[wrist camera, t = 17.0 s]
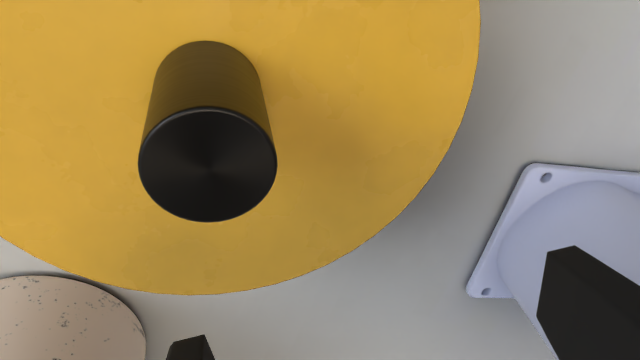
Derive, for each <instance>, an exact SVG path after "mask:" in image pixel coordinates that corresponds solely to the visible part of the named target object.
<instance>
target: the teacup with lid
mask: <svg viewBox="0 0 640 360" xmlns="http://www.w3.org/2000/svg"><path fill="white" fill-rule="evenodd" d="M145 353H146V340H145V334H144V331H143V328H142V326H141V324H140V322H139V320H138V319H137V317H136V316H135V315H134V313H133V312H132V311H131V310H130V309H129V308H128V307H127V306H126V305H125V304H124V303H122V302H121V301H120V300H118V299H117V298H116V297H114V296H113V295H111V294H109V293H107V292H105V291H104V290H101V289H99V288H97V287H95V286H92V285H89V284H86V283H83V282H80V281H76V280H71V279H67V278H60V277H53V276H18V277H10V278H5V279H0V360H145Z"/></svg>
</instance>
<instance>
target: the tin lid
mask: <svg viewBox="0 0 640 360" xmlns="http://www.w3.org/2000/svg"><path fill="white" fill-rule="evenodd" d="M480 26H481V20H480V2H479V0H0V236H1V237H2V238H3V239H5V240H7V241H8V242H10V243H12V244H14V245H15V246H17V247H19V248H20V249H22V250H24V251H26V252H27V253H29V254H31V255H32V256H34V257H36V258H39V259H41V260H43V261H45V262H47V263H49V264H52V265H54V266H56V267H58V268H60V269H63V270H65V271H68V272H70V273H73V274H76V275H79V276H82V277H85V278H88V279H91V280H94V281H97V282H101V283H105V284H109V285H113V286H117V287H121V288H125V289H131V290H137V291H144V292H151V293H158V294H175V295H210V294H223V293H231V292H239V291H247V290H251V289H256V288H260V287H265V286H269V285H274V284H277V283H280V282H283V281H287V280H290V279H293V278H296V277H299V276H302V275H304V274H307V273H309V272H311V271H314V270H316V269H318V268H321V267H323V266H325V265H327V264H329V263H331V262H333V261H335V260H337V259H338V258H340V257H342V256H344V255H346V254H348V253H349V252H351V251H353V250H354V249H356V248H357V247H359V246H360V245H361V244H363V243H364V242H366V241H367V240H369V239H370V238H372V237H373V236H375V235H376V234H377V233H378V232H379V231H381V230H382V229H383V228H384V227H385V226H386V225H388V224H389V223H390V222H391V221H392V220H394V219H395V218H396V217H397V216H398V215H399V214H400V213H401V212H402V211H403V210H404V209H405V208H406V207H407V206H408V204H409V203H410V202H411V201H412V200H413V199H414V198H415V197H416V196H417V195H418V193H419V192H420V191H421V190H422V188H423V187H424V186H425V184H426V183H427V182H428V180H429V179H430V178H431V177H432V175H433V174H434V172H435V171H436V169H437V167H438V166H439V164H440V163H441V161H442V159H443V158H444V156H445V154H446V153H447V151H448V149H449V148H450V145H451V143H452V141H453V139H454V137H455V135H456V132H457V130H458V128H459V126H460V124H461V122H462V119H463V116H464V113H465V110H466V107H467V104H468V101H469V98H470V94H471V91H472V87H473V82H474V77H475V72H476V67H477V62H478V55H479V40H480Z"/></svg>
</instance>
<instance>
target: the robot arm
mask: <svg viewBox="0 0 640 360" xmlns="http://www.w3.org/2000/svg"><path fill="white" fill-rule="evenodd" d="M545 173H546V174H545ZM543 174H545V175H544V176H543V177H542V175H543ZM466 291H467V293H468V295H469V296H470V297H473V298H515V299H516V300H517V302H518V303H519V305H520V306H521V308H522V309H523V311H524V312H525V314H526V315H527V317H528V318H529V320H530V321H531V323H532V324H533V326H534V327H535V329H536V330H537V332H538V333H539V335H540V336H541V338H542V339H543V340H544V342H545V343H546V345H547V346H548V348H549V349H550V351H551V352H552V354H553V355H554V357H555V358H556V360H640V173H635V172H625V171H615V170H604V169H594V168H583V167H573V166H563V165H552V164H542V163H533V164H531V165H529V166H527V167H526V168H525V169H524V171H523V172H522V174H521V176H520V178H519V180H518V182H517V184H516V186H515V188H514V191H513V193H512V195H511V197H510V199H509V201H508V203H507V205H506V207H505V209H504V211H503V213H502V215H501V217H500V219H499V221H498V223H497V225H496V227H495V229H494V231H493V233H492V235H491V237H490V239H489V241H488V243H487V245H486V247H485V249H484V251H483V254H482V256H481V258H480V260H479V262H478V264H477V266H476V268H475V270H474V272H473V274H472V276H471V278H470V280H469V282H468V284H467V286H466ZM166 360H215V359H214V356H213V354H212V351H211V349H210V347H209V344H208V342H207V340H206V337H205V335H200V336H196V337H192V338H188V339H184V340H179V341H175V342H173V344H172V345H171V346H170V348H169V351H168V354H167V358H166Z"/></svg>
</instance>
